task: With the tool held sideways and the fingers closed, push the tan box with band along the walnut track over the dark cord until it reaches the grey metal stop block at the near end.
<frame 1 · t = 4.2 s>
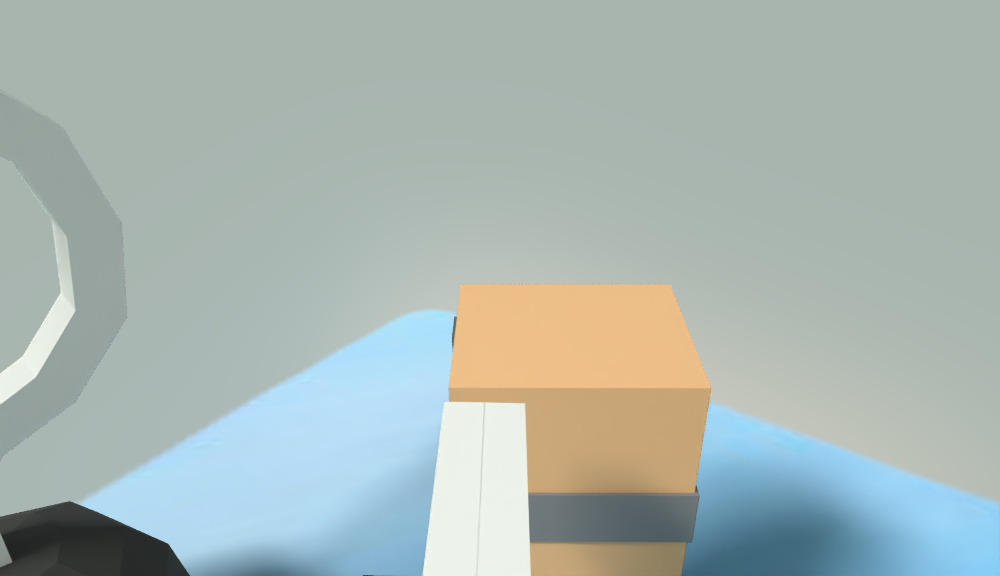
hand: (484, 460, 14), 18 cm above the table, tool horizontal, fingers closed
tan box with band: (560, 550, 23), point 10 cm above the table, slide at 0.0 cm
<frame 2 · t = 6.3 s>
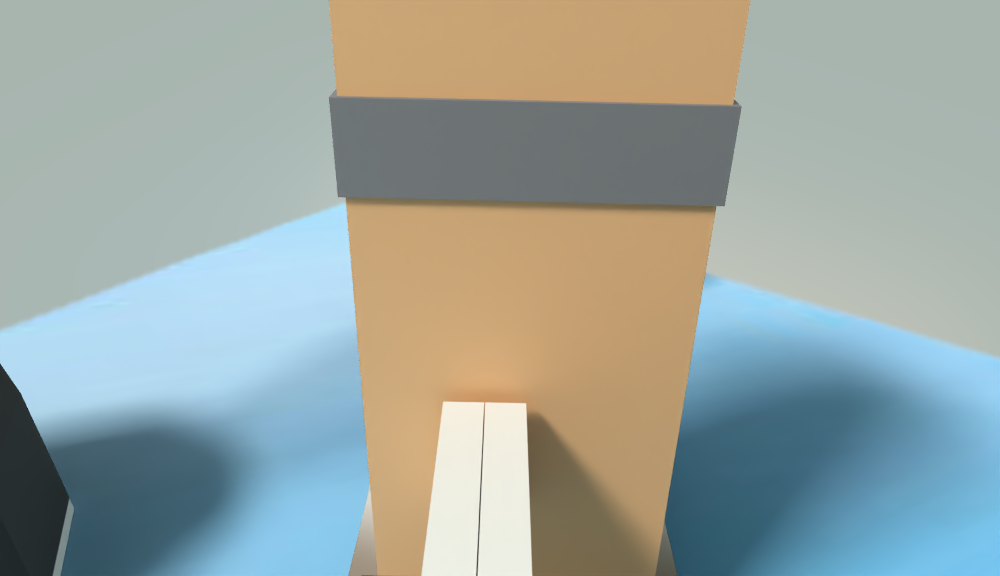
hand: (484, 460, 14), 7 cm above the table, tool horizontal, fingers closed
track: (512, 463, 25), on the table
tan box with band: (522, 297, 16), point 10 cm above the table, slide at 0.4 cm, touching gripper
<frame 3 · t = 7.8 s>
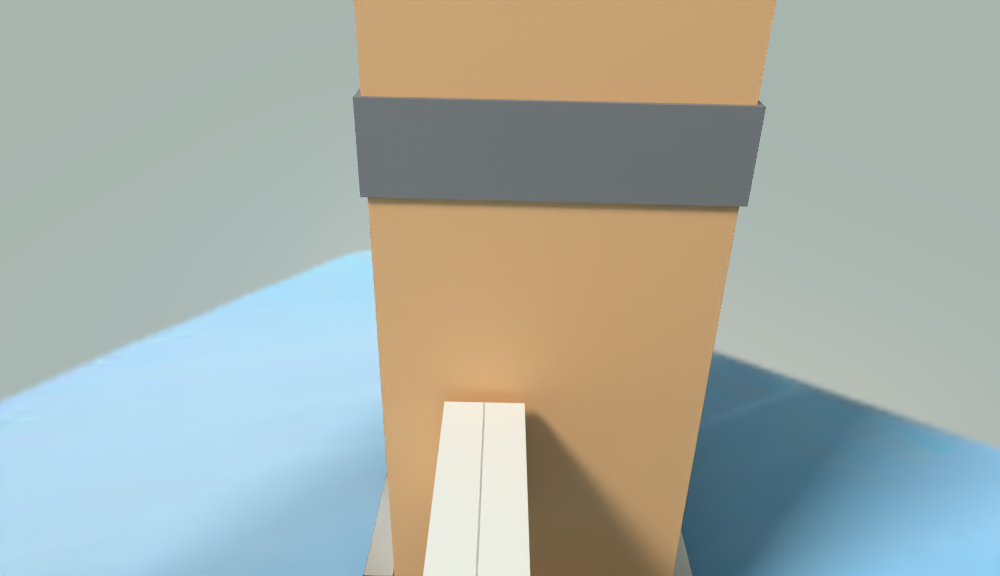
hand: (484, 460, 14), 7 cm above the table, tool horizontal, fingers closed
tan box with band: (540, 297, 16), point 9 cm above the table, slide at 8.9 cm, touching gripper
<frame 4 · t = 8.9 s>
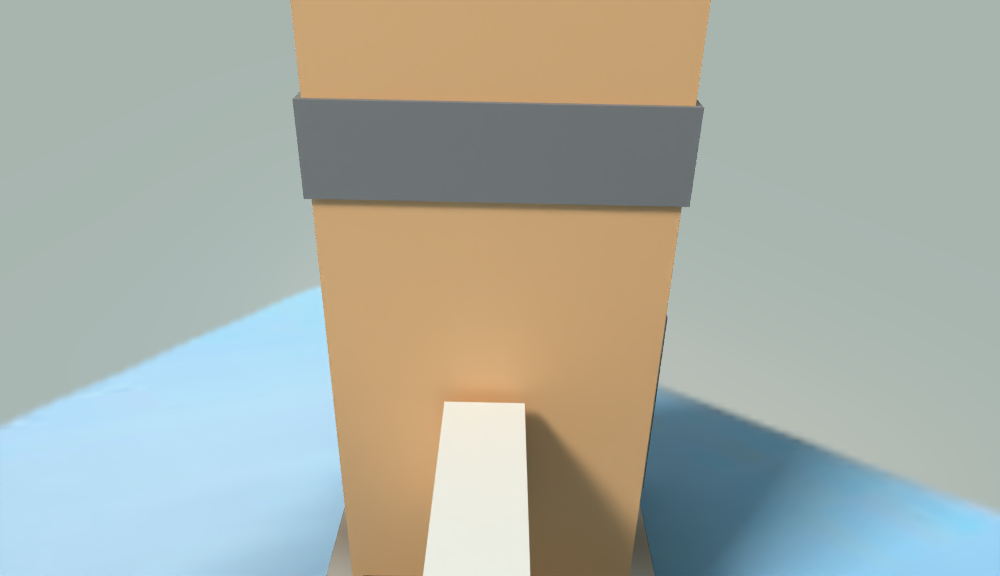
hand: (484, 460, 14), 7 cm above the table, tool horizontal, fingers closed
tan box with band: (496, 298, 16), point 9 cm above the table, slide at 12.7 cm, touching gripper
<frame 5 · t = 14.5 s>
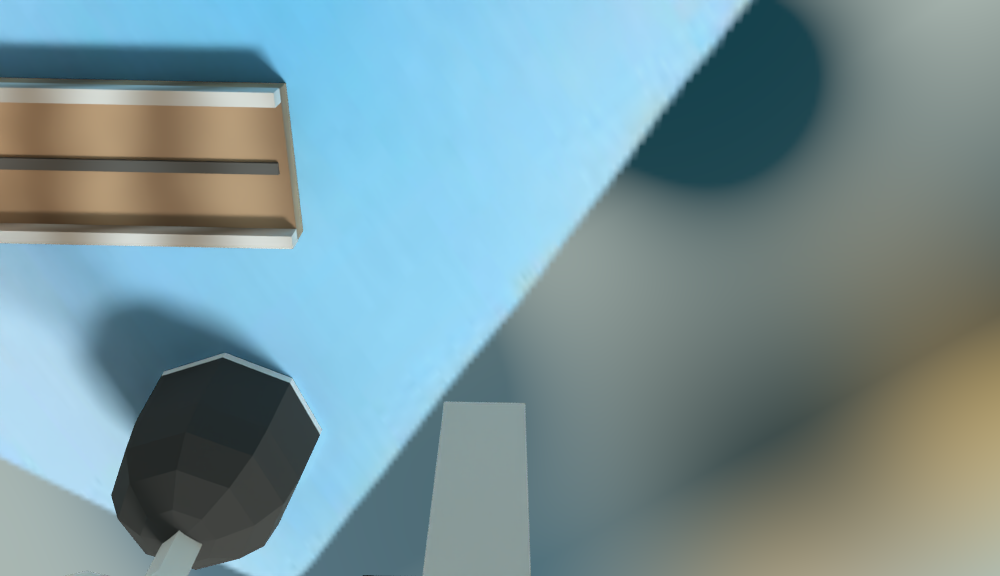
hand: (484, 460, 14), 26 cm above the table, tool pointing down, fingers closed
track: (64, 156, 39), on the table
hook: (233, 421, 48), on the table
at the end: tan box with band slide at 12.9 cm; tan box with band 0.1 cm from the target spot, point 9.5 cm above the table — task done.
